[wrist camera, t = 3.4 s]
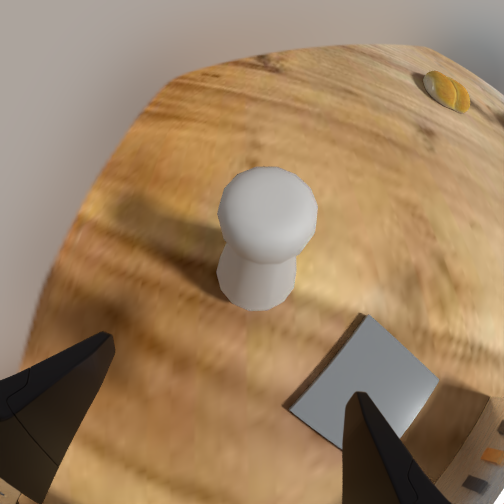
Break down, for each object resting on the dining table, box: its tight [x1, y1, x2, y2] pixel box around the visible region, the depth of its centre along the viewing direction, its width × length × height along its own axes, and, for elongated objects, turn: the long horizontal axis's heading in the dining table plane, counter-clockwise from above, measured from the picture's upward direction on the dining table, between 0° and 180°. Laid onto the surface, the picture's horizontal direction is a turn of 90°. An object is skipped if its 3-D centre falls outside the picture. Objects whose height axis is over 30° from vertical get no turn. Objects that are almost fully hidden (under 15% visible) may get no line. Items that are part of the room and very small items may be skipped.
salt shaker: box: [216, 167, 318, 311], centre depth 18 cm, size 6×6×13 cm
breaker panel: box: [434, 397, 504, 504], centre depth 13 cm, size 16×3×9 cm, turn 137°
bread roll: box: [423, 71, 470, 113], centre depth 33 cm, size 8×9×4 cm
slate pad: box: [289, 314, 439, 449], centre depth 20 cm, size 10×10×1 cm
